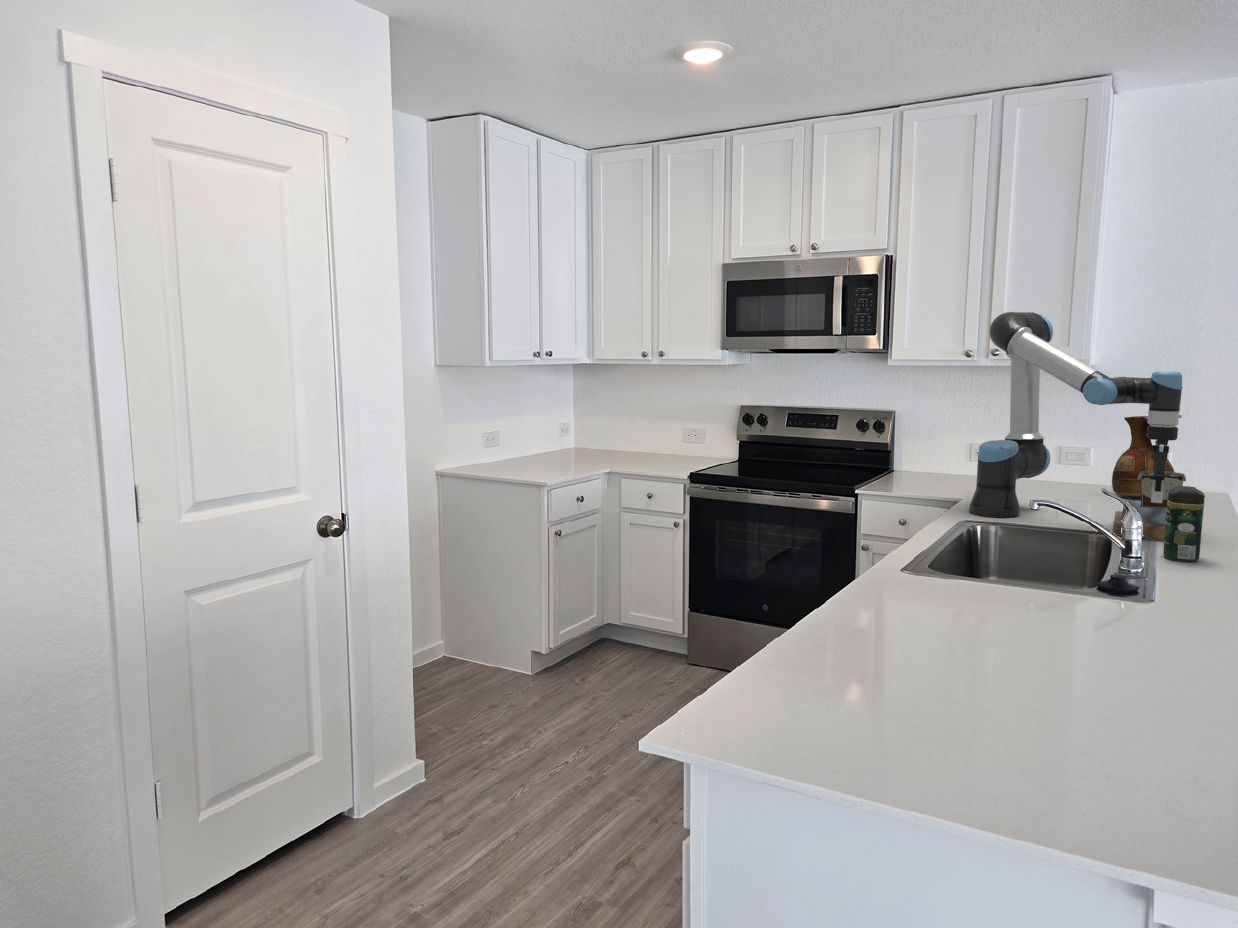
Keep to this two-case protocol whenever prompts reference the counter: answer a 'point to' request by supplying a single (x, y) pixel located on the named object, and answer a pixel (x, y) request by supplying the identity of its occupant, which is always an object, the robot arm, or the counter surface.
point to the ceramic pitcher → (1135, 459)
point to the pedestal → (1144, 520)
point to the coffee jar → (1183, 523)
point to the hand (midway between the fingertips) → (1156, 499)
